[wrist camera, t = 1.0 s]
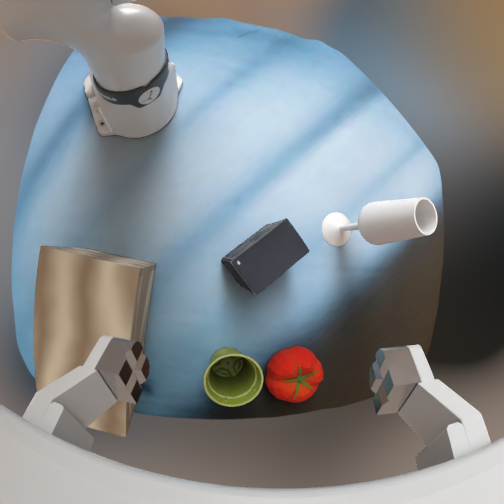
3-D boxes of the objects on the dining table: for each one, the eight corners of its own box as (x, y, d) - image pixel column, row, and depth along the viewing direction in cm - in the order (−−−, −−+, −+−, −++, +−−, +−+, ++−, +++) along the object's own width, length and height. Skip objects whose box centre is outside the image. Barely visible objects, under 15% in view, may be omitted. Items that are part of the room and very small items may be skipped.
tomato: (299, 395, 52) (313, 413, 45) (251, 382, 50) (261, 400, 43) (322, 350, 53) (340, 363, 46) (274, 333, 51) (288, 346, 44)
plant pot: (195, 378, 48) (197, 400, 39) (208, 332, 48) (212, 347, 40) (243, 388, 50) (253, 410, 41) (258, 344, 50) (271, 361, 42)
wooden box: (73, 371, 42) (39, 409, 27) (83, 247, 44) (40, 245, 28) (140, 389, 45) (125, 437, 30) (156, 263, 46) (139, 269, 31)
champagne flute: (356, 232, 55) (447, 222, 31) (334, 253, 54) (424, 254, 30) (338, 205, 54) (425, 179, 30) (315, 225, 53) (400, 208, 29)
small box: (242, 289, 50) (256, 298, 39) (219, 259, 49) (227, 261, 39) (288, 252, 52) (312, 252, 41) (267, 223, 51) (286, 215, 40)
